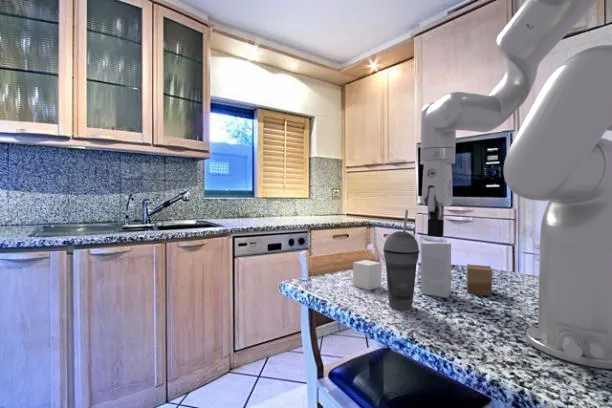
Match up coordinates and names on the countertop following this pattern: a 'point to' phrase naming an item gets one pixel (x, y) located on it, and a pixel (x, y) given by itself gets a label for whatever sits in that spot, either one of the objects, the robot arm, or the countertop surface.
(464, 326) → the countertop surface
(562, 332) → the robot arm
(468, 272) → the walnut block
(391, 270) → the beverage cup
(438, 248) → the skincare box
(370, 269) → the off-white block
